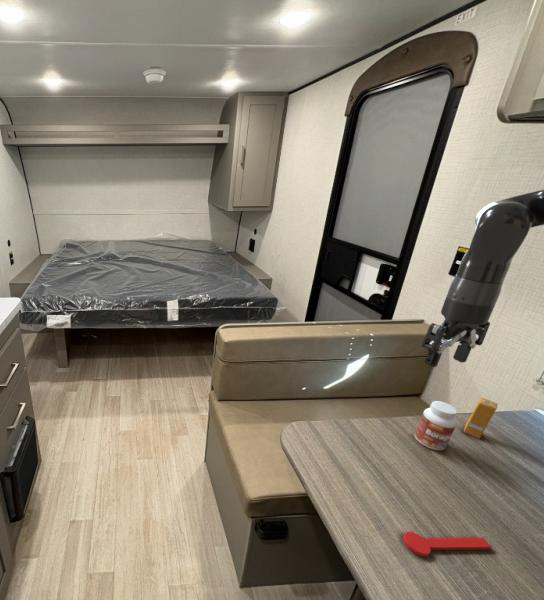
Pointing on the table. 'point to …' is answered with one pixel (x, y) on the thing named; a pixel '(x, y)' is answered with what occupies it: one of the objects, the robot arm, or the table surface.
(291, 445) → the table surface
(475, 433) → the supplement box
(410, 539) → the spoon
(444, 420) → the pill bottle
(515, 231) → the robot arm
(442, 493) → the table surface
